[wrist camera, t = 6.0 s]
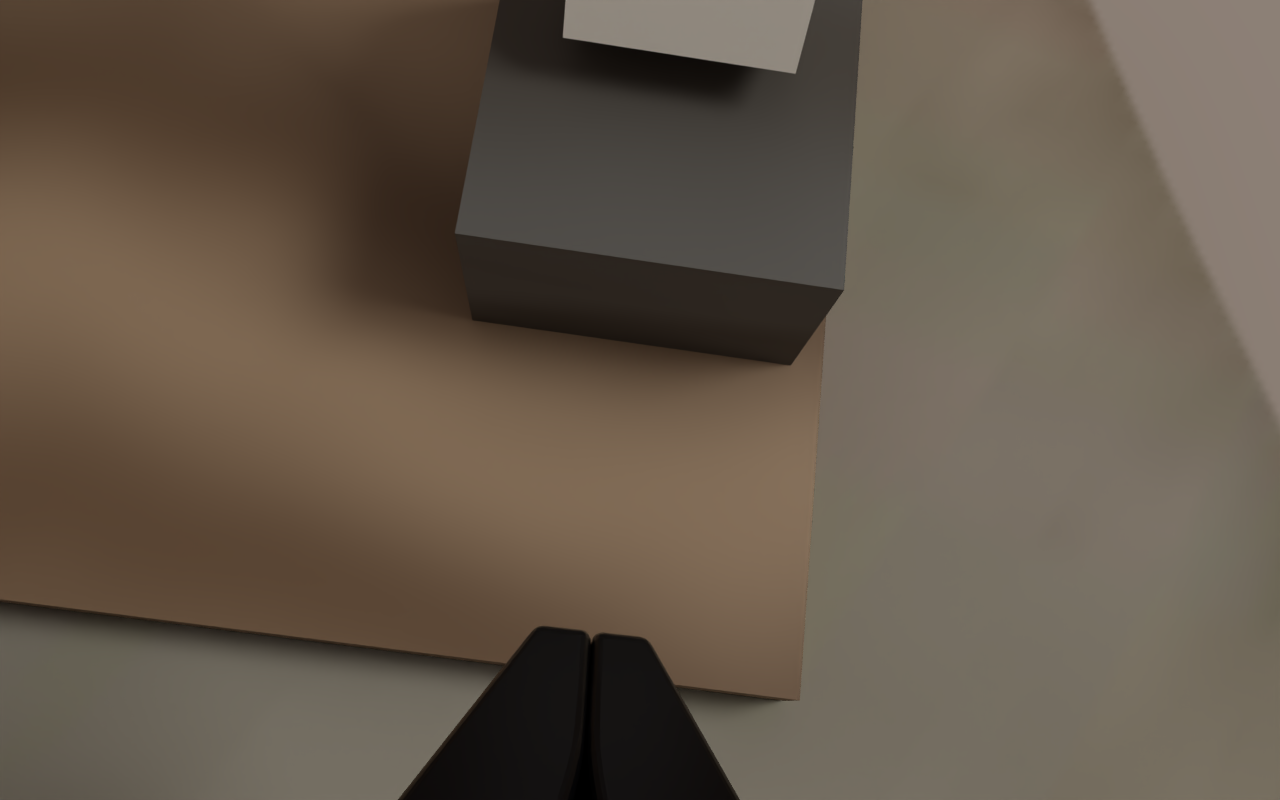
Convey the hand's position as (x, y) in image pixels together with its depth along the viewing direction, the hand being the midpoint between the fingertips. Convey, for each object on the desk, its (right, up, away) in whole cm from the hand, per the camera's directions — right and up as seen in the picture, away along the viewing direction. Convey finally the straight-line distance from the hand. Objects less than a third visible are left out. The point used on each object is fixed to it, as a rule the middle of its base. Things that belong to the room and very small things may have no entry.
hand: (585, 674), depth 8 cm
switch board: (-6, +5, +9) cm, 13 cm away
